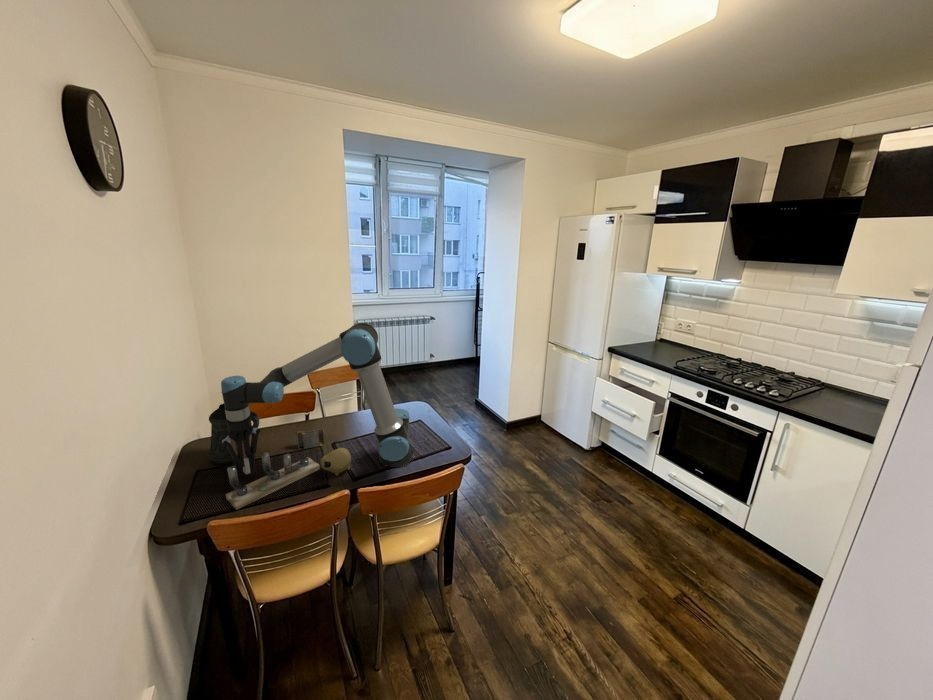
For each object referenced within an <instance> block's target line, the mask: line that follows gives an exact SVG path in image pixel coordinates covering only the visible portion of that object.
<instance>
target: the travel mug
mask: <svg viewBox="0 0 933 700" xmlns="http://www.w3.org/2000/svg"><path fill="white" fill-rule="evenodd" d="M251 438H252V436H251V434H250V436H249V440H250V441H249V444H250V445H251ZM230 441H231V442H230V444H231V445H232V447H233V449H234V451H235V453H236V455H237V449H236V443H235V441H234V440H232V439H231V438H230ZM242 449H243V455H244V456H246V455H245V450H244V444H243V440H242ZM232 459H233V458H232ZM255 460H256V457H255V454H252V457H251V461H252V463H251V464H249V465H250V472H251V473H249V474H247V475H246V474H245V473H244V472H243V467H241V466H240V465H239V460H238V461H235V460H234V459H233V464H234V466H236V469H237V475H238V478H239V477H243V478H244V477H247V476H250V475H252V474H254V473H255V472H256V469H257V466H256V461H255Z"/></svg>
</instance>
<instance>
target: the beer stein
mask: <svg viewBox="0 0 933 700" xmlns="http://www.w3.org/2000/svg"><path fill="white" fill-rule="evenodd" d="M250 417H251V422H252V426H253V428H256V427H257V428H258V429H259V426H260V418H259V416H258V414H257V413H255V412H254V411H250ZM208 421H209V423H210V424H211V425H210V426H211V429H210V430H211V431H210V433H211V434H210V435H211V437H210V448H209V451H208V453H207V457H208V460H209V464H210V465H211V466H212V467H214V468H220V469H221V468H223V469H224V468H228V467H230V466H234V464H233V459H232V456H231V454H230V453H229V451H228V449H227V447H226V445H225V444H224V443H222V442H221V440H222V439H225V438H226V437H227V436H228V435H227V434H228V426H227V419H226V413H225V407H224V402H223V403H220V404H219V406H218V407H217V409H215V410H213V412H211V414H209V416H208ZM251 436H252V433H251Z"/></svg>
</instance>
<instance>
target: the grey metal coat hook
mask: <svg viewBox="0 0 933 700" xmlns="http://www.w3.org/2000/svg"><path fill="white" fill-rule="evenodd" d="M226 468H227V469H226V471H227V476H228V481H229V485H231V487H232V488H233V490H236V491H237V495H238V496H243V495H245V494H247V492H248V491H247V486H245V485H242V484H241V483H240V482H239V476H238V475H237V469H236V466H230V467H226Z"/></svg>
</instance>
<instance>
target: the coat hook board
mask: <svg viewBox="0 0 933 700" xmlns="http://www.w3.org/2000/svg"><path fill="white" fill-rule="evenodd" d="M306 458H308V460H309V464H308V465H307V466H302V467H300V468H298V469H296V470H294V471H292V472H285V471H284V467H283V468H281V469H278V470H277V471H279V472H280V478H279V479H277V480H271V476H269V475H268V474H267V475H265V476H263V477H261V478H258V479H256V480H254V481H252V482H249V483H248V484H245V485H244V486H247V491H248V492H247V494H245V495H243V496H238V495H237V491H236V490H235V489H233V490H232V491H230V492H227V493H225V498H226V500H227V501H228V502H229V503H230V505H231V506H232V507H233V508H234V509H235V510H236V511H237V510H240V509H241V508H244V507H245V506H247V505H250V504H251V503H253V502H255V501H258V500H261V499H262V498H263V497H266V496H268V495H269V494H272V493H275V492H276V491H278V490H280V489H282V488H284V487H286V486H288V485H291V484H293V483H294V482H296V481H298V480H301V479H302V478H304V477H306V476H309V475H311V474H313V473H316V472H317V471H319V470H320V468H321V464H319V463H318V462H316V461H315V460H313V459H312V458H311V457H309V456H306ZM298 463H300V460H298V461H297V462H294V463H291V464H292V466H293V465H296V464H298Z"/></svg>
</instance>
